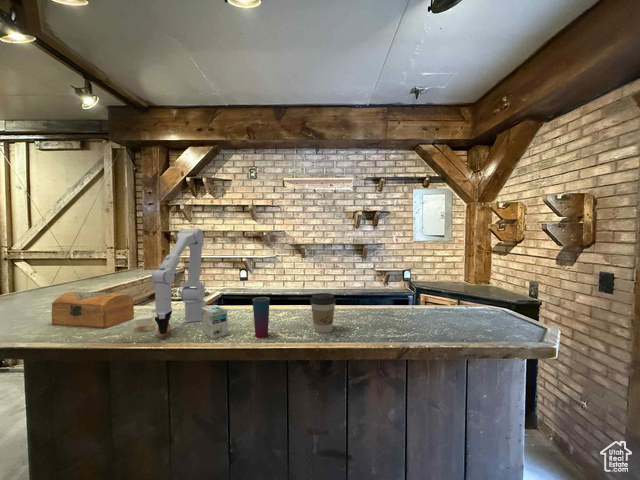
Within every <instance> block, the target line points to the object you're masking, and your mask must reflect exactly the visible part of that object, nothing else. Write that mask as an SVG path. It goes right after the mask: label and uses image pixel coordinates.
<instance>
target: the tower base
mask: <svg viewBox="0 0 640 480" xmlns="http://www.w3.org/2000/svg"><path fill="white" fill-rule="evenodd" d="M155 327H156V321H155V319H153V323H152V325H146V326H139V327H135V325H134V327H133V334H134V335H135V333H136V334H142V332H143V333H149V331H150V332H154V331H155Z"/></svg>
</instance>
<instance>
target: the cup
mask: <svg viewBox="0 0 640 480" xmlns="http://www.w3.org/2000/svg"><path fill="white" fill-rule="evenodd" d="M270 301H271V299H270V297H267V296H259V297H255V298H252V311H253V322H254V324H253V325H254V326H253V327H254V336H255V338H257V339H263V338H267V337H268V336H269V321H270V320H269V318H270V317H269V316H270Z"/></svg>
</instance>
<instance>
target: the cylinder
mask: <svg viewBox="0 0 640 480" xmlns="http://www.w3.org/2000/svg"><path fill="white" fill-rule="evenodd" d="M170 335H171V323H169V324H168V328H167V333H165V334H160V331H159V327H158V326H157V337H159V338H163V337H168V336H170Z"/></svg>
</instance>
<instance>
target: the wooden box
mask: <svg viewBox="0 0 640 480" xmlns="http://www.w3.org/2000/svg"><path fill="white" fill-rule="evenodd" d="M134 303H135V302H134V298H133V297H132V296H131V295H129V294H123V293H111V292H99V291H98V292H97V291H96V292H93V291H69V292H66V293H63V294H61V295H60V296H58V297H56V299H55V300H53V302H51V325H52V326H59V327H60V326H61V327H76V328H89V329H90V328H92V329H103V330H105V329H109V328H111V327H113V326H116V325H119V324H122V323H125V322H127V321H130V320H133V319H134V318H135V312H134V311H135V310H134V309H135V307H134V306H135V304H134Z"/></svg>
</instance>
